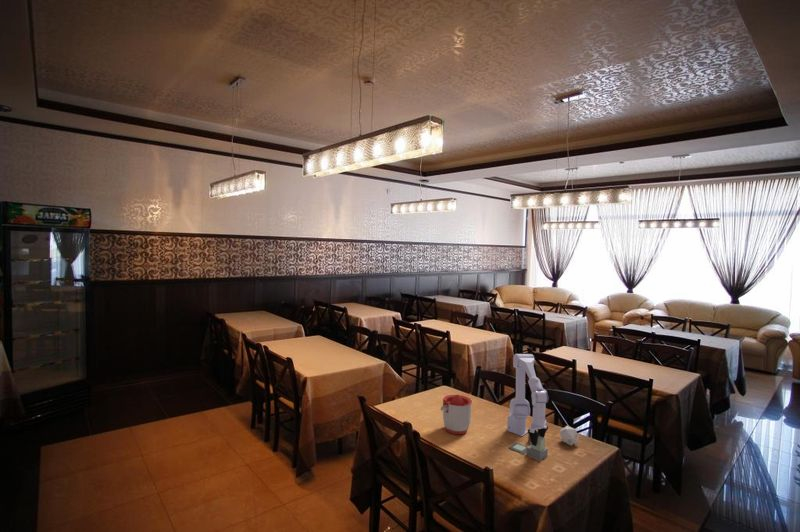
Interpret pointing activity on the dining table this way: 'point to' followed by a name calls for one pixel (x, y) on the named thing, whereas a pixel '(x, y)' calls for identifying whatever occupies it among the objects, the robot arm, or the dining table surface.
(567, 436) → the grey rock
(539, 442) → the sage block
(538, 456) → the slate base
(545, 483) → the dining table surface
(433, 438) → the dining table surface
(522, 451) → the grey square plate
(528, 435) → the walnut block
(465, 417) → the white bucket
